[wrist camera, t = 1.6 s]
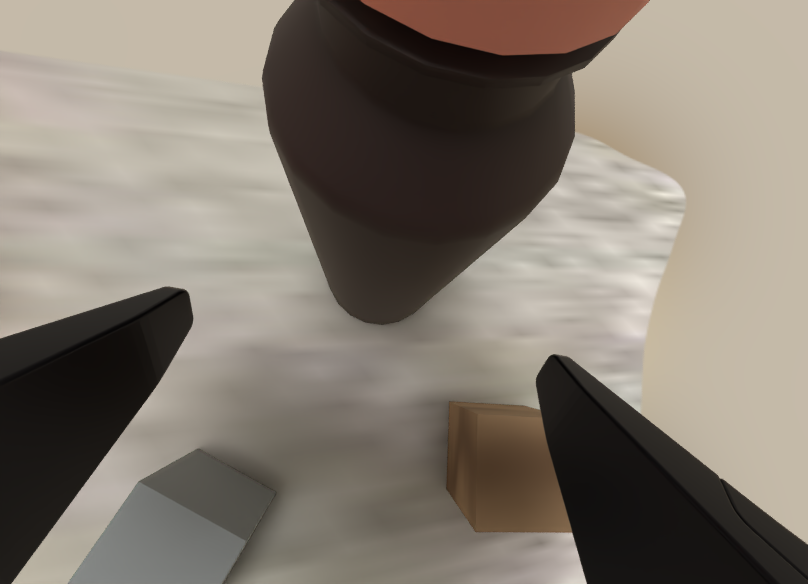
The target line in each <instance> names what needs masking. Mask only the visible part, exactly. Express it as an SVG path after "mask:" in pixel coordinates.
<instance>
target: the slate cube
mask: <svg viewBox="0 0 808 584" xmlns="http://www.w3.org/2000/svg"><path fill="white" fill-rule="evenodd" d="M275 494H276V492H275V491H273V490H271V489H269V488H268V487H266V486H264V485H262V484H260V483H259V482H257V481H255V480H253V479H251V478H250V477H248V476H246V475H244V474H243V473H241V472H239V471H237V470H235V469H234V468H232V467H230V466H228V465H226V464H225V463H223V462H221V461H219V460H218V459H216V458H214V457H212V456H210V455H209V454H207V453H205V452H203V451H201V450H200V449H196V450H194V451H193V452H191V453H189V454H187V455H185V456H184V457H182V458H180V459H178V460H176V461H175V462H173V463H171V464H169V465H167V466H166V467H164V468H162V469H160V470H159V471H157V472H155V473H153V474H151V475H150V476H148V477H146V478H144V479H142V480H141V481H139V482H138V483H137V485H136V486H135V488H134V489H133V490H132V492H131V493H130V495H129V496H128V498H127V499H126V500H125V502H124V503H123V505H122V506H121V508H120V509H119V510H118V512H117V513H116V515H115V516H114V518H113V519H112V521H111V522H110V523H109V525H108V526H107V528H106V529H105V531H104V532H103V533H102V535H101V536H100V538H99V539H98V541H97V542H96V543H95V545H94V546H93V548H92V549H91V551H90V552H89V554H88V555H87V556H86V558H85V559H84V561H83V562H82V564H81V565H80V566H79V568H78V569H77V571H76V572H75V574H74V575H73V576H72V578H71V579H70V581H69V582H68V584H223V583H224V582H225V580H226V578H227V576H228V575H229V573H230V571H231V570H232V568H233V566H234V564H235V563H236V561H237V559H238V557H239V556H240V554H241V552H242V551H243V549H244V547H245V545H246V544H247V542H248V540H249V539H250V537H251V535H252V533H253V532H254V530H255V528H256V527H257V525H258V523H259V521H260V520H261V518H262V516H263V515H264V513H265V511H266V509H267V508H268V506H269V504H270V503H271V501H272V499H273V497H274V496H275Z"/></svg>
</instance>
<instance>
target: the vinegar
mask: <svg viewBox="0 0 808 584" xmlns="http://www.w3.org/2000/svg"><path fill="white" fill-rule="evenodd" d="M649 1H650V0H294V2H293V3H292V4H291V5H290V7H289V8H288V9H287V11H286V12H285V13H284V14H283V16H282V17H281V18H280V20H279V21H278V23H277V24H276V26H275V28H274V31H273V35H272V39H271V42H270V46H269V50H268V54H267V57H266V61H265V65H264V69H263V75H262V82H263V89H264V97H265V104H266V111H267V119H268V126H269V131H270V134H271V137H272V139H273V142H274V144H275V147H276V150H277V152H278V155H279V157H280V160H281V163H282V165H283V168H284V170H285V173H286V175H287V178H288V181H289V183H290V186H291V188H292V191H293V194H294V196H295V199H296V201H297V204H298V206H299V209H300V212H301V214H302V217H303V219H304V222H305V225H306V227H307V230H308V232H309V235H310V237H311V240H312V243H313V245H314V248H315V250H316V253H317V255H318V258H319V261H320V263H321V266H322V268H323V271H324V274H325V276H326V279H327V281H328V284H329V286H330V289H331V291H332V293H333V295H334V296H335V298H336V300H337V302H338V304H339V305H340V306H341V307H343V308H344V309H345V310H346V311H347V312H348V313H349V314H350V315H352V316H354V317H356V318H358V319H360V320H362V321H364V322H368V323H376V324H387V323H393V322H398V321H400V320H402V319H404V318H406V317H408V316H409V315H411V314H413V313H414V312H415V311H417V310H418V309H419V308H420V307H421V306H422V305H424V304H425V303H426V302H427V301H428V300H430V299H431V298H432V297H433V296H434V295H435V294H437V293H438V292H439V291H440V290H441V289H443V288H444V287H445V286H446V285H447V284H448V283H450V282H451V281H452V280H453V279H454V278H455V277H457V276H458V275H459V274H460V273H461V272H463V271H464V270H465V269H466V268H467V267H468V266H470V265H471V264H472V263H473V262H474V261H475V260H477V259H478V258H479V257H480V256H481V255H483V254H484V253H485V252H486V251H487V250H488V249H490V248H491V247H492V246H493V245H494V244H495V243H497V242H498V241H499V240H500V239H501V238H503V237H504V236H505V235H506V234H507V233H508V232H510V231H511V230H512V229H513V228H514V227H515V226H517V225H518V224H519V223H520V222H521V221H523V220H524V219H525V218H526V217H527V216H528V215H529V214H530V212H531V211H532V210H533V209H534V208H535V207H536V206H537V205H538V203H539V202H540V201H541V200H542V199H543V198H544V197H545V196H546V195H547V193H548V192H549V191H550V190H551V189H552V188H553V187H554V186H555V184H556V183H557V182H558V180H559V177H560V175H561V172H562V169H563V167H564V164H565V161H566V159H567V156H568V153H569V150H570V148H571V145H572V142H573V140H574V137H575V107H574V106H575V100H574V99H575V96H574V94H575V92H574V85H573V79H572V73H573V72H575V71H578V70H580V69H583V68H585V67H586V66H587V65H588V64H589V63H590V62H591V61H592V60H593V59H594V58H595V57H596V56H597V55H598V54H599V53H600V52H601V51H602V50H603V49H604V48H605V47H606V46H607V45H608V44H609V43H610V42H611V41H612V40H613V39H614V38H615V37H616V35H617V34H618V33H619V31H620V30H621V29H622V28H623V27H624V26H625V25H626V24H627V23H628V22H629V21H630V20H631V19H632V18H633V17H634V16H635V15H636V14H637V13H638V12H639V11H640V10H641V9H642V8H643V7H644V6H645V5H646V4H647V3H648V2H649Z"/></svg>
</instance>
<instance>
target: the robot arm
mask: <svg viewBox="0 0 808 584" xmlns="http://www.w3.org/2000/svg"><path fill="white" fill-rule="evenodd" d="M192 324H193V313H192V307H191V302H190V296H189V293H188V292H187V291H186V290H185V289H180V288H175V287H162V288H159V289H156V290H153V291H150V292H147V293H143V294H140V295H137V296H134V297H131V298H128V299H124V300H121V301H118V302H115V303H112V304H108V305H105V306H102V307H99V308H96V309H93V310H89V311H86V312H83V313H80V314H77V315H74V316H70V317H67V318H64V319H61V320H58V321H55V322H51V323H48V324H45V325H42V326H39V327H35V328H32V329H29V330H26V331H23V332H20V333H16V334H13V335H10V336H7V337H4V338H1V339H0V584H11V583H12V582H13V581H14V579H15V578H16V577H17V575H18V574H19V573H20V571H21V570H22V568H23V567H24V566H25V564H26V563H27V562H28V560H29V559H30V558H31V556H32V555H33V554H34V552H35V551H36V549H37V548H38V547H39V545H40V544H41V543H42V541H43V540H44V539H45V537H46V536H47V535H48V533H49V532H50V530H51V529H52V528H53V526H54V525H55V524H56V522H57V521H58V520H59V518H60V517H61V515H62V514H63V513H64V511H65V510H66V509H67V507H68V506H69V505H70V503H71V502H72V501H73V499H74V498H75V496H76V495H77V494H78V492H79V491H80V490H81V488H82V487H83V486H84V484H85V483H86V482H87V480H88V479H89V477H90V476H91V475H92V473H93V472H94V471H95V469H96V468H97V467H98V465H99V464H100V462H101V461H102V460H103V458H104V457H105V456H106V454H107V453H108V452H109V450H110V449H111V448H112V446H113V445H114V443H115V442H116V441H117V439H118V438H119V437H120V435H121V434H122V433H123V431H124V430H125V429H126V427H127V426H128V424H129V423H130V422H131V420H132V419H133V418H134V416H135V415H136V414H137V412H138V411H139V409H140V408H141V407H142V405H143V404H144V403H145V401H146V400H147V399H148V397H149V396H150V395H151V393H152V392H153V390H154V389H155V387H156V386H157V385H158V383H159V382H160V380H161V378H162V377H163V375H164V374H165V372H166V370H167V368H168V367H169V365H170V363H171V361H172V360H173V358H174V356H175V355H176V353H177V351H178V349H179V348H180V346H181V344H182V342H183V341H184V339H185V337H186V336H187V334H188V332H189V330H190V329H191V327H192ZM536 388H537V393H538V399H539V404H540V410H541V416H542V421H543V427H544V432H545V437H546V441H547V445H548V449H549V452H550V456H551V459H552V463H553V466H554V470H555V473H556V477H557V480H558V484H559V487H560V491H561V494H562V498H563V501H564V505H565V509H566V512H567V516H568V519H569V523H570V526H571V530H572V533H573V537H574V540H575V544H576V547H577V551H578V554H579V558H580V561H581V565H582V568H583V572H584V575H585V579H586V582H587V584H808V544H806V543H805V542H804V541H802V540H801V539H800V538H798V537H797V536H796V535H794V534H793V533H792V532H790V531H789V530H788V529H786V528H785V527H784V526H782V525H781V524H780V523H778V522H777V521H776V520H774V519H773V518H772V517H771V516H769V515H768V514H767V513H765V512H764V511H763V510H762V509H760V508H759V507H758V506H756V505H755V504H754V503H752V502H751V501H750V500H749V499H747V498H746V497H745V496H744V495H742V494H741V493H740V492H738V491H737V490H736V489H735V488H733V487H732V486H731V485H730V484H728V483H727V482H726V481H725V480H723V479H720V478H719V476H718V475H717V474H716V473H714V472H713V471H712V470H710V469H709V468H708V467H707V466H706V465H704V464H703V463H702V462H700V461H699V460H698V459H697V458H695V457H694V456H693V455H692V454H690V453H689V452H688V451H687V450H685V449H684V448H683V447H682V446H680V445H679V444H677V442H675V441H674V440H673V439H671V438H670V437H669V436H668V435H666V434H665V433H664V432H663V431H661V430H660V429H659V428H658V427H656V426H655V425H654V424H652V423H651V422H650V421H649V420H647V419H646V418H645V417H644V416H642V415H641V414H640V413H639V412H637V411H636V410H635V409H634V408H632V407H631V406H630V405H629V404H627V403H626V402H625V401H624V400H622V399H621V398H620V397H619V396H617V395H616V394H615V393H613V392H612V391H611V390H610V389H608V388H607V387H606V386H605V385H603V384H602V383H601V382H600V381H598V380H597V379H596V378H595V377H593V376H592V375H591V374H590V373H588V372H587V371H586V370H584V369H583V368H582V367H581V366H579V365H578V364H577V363H576V362H574V361H573V360H572V359H571V358H569V357H567V356H562V355H556V354H553V355H551V356H549V357H548V359H547V360H546V362H545V364H544V365H543V367H542V368H541V370H540V372H539V373H538V375H537V378H536Z"/></svg>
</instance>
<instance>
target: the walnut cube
mask: <svg viewBox="0 0 808 584" xmlns="http://www.w3.org/2000/svg"><path fill="white" fill-rule="evenodd" d="M446 489H447V491H448V492H449V494H450V495H451V497H452V498H453V499H454V501H455V502H456V504H457V505H458V507H459V508H460V510H461V511H462V513H463V514H464V516H465V517H466V518H467V520H468V521H469V523H470V524H471V526H472V527H473V529H474V530H475V532H570V533H572V530H571V526H570V523H569V519H568V516H567V512H566V509H565V505H564V501H563V498H562V494H561V491H560V487H559V484H558V480H557V477H556V473H555V470H554V466H553V463H552V459H551V456H550V452H549V449H548V445H547V441H546V437H545V432H544V427H543V421H542V416H541V410H537V409H534V408H530V407H526V406H519V405H501V404H484V403H466V402H449V429H448V457H447V486H446Z"/></svg>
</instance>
